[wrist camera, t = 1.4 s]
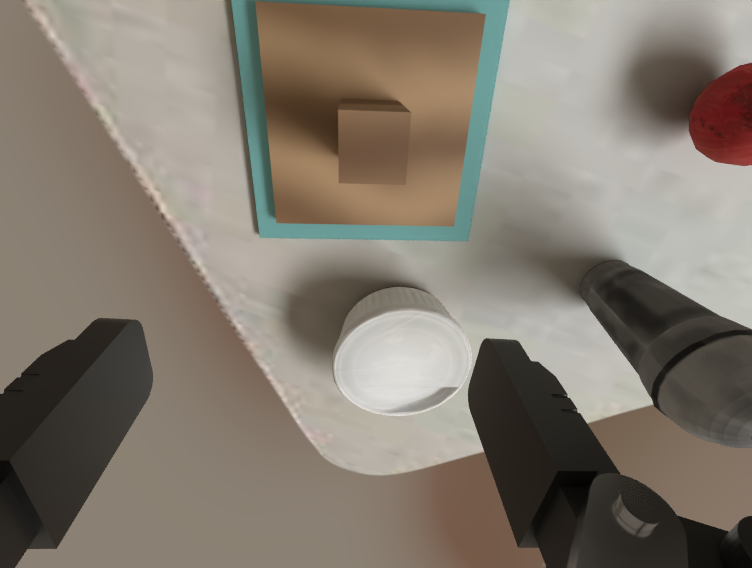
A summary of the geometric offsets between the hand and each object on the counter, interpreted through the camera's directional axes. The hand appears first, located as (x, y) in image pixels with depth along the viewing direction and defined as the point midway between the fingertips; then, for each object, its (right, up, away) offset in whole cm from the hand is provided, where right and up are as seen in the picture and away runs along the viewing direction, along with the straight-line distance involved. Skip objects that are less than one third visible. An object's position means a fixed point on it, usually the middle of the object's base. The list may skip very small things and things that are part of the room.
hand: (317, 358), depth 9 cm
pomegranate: (+24, +14, +17) cm, 33 cm away
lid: (+1, +12, +16) cm, 20 cm away
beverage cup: (+21, +2, +24) cm, 32 cm away
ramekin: (+3, -2, +26) cm, 26 cm away
